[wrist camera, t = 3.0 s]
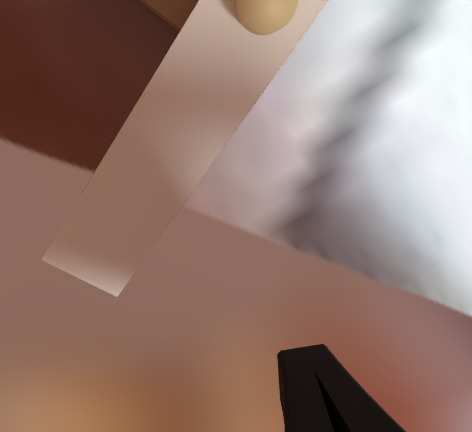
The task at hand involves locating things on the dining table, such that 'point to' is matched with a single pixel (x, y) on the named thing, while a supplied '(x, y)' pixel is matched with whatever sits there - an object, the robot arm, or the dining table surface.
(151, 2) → the stool seat
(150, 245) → the hinged leg
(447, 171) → the dining table surface
